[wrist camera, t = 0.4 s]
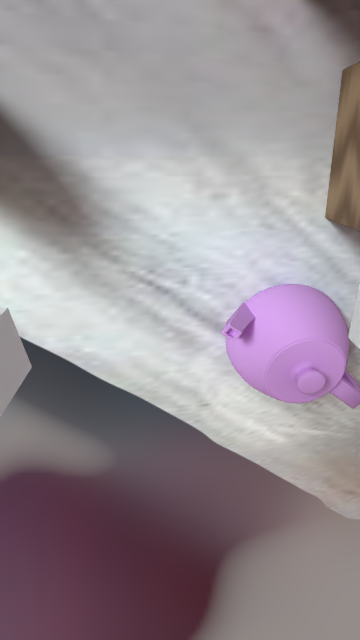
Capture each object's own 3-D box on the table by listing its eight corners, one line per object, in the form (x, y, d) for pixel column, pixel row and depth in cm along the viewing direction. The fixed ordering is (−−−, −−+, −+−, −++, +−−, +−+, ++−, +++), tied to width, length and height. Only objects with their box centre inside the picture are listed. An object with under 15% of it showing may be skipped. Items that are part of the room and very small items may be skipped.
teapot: (371, 321, 44) (435, 374, 33) (298, 394, 50) (333, 458, 39) (249, 243, 38) (280, 278, 27) (183, 336, 44) (188, 394, 33)
